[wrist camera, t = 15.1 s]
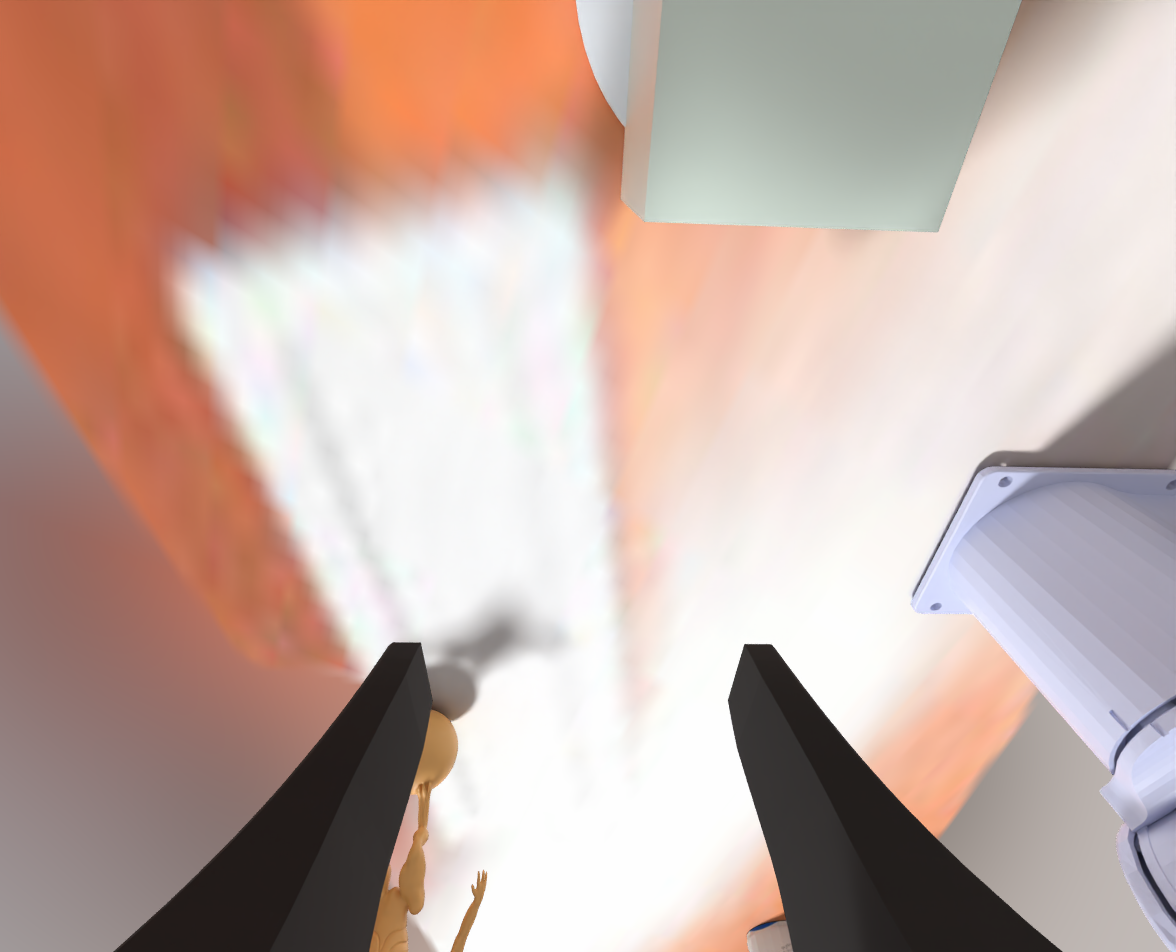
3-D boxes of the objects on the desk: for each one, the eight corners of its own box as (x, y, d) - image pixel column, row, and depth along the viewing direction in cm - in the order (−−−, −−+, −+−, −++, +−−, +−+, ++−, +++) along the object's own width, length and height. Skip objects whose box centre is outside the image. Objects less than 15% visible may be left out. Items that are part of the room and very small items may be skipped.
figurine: (497, 690, 28) (453, 1001, 18) (509, 752, 31) (478, 1046, 21) (344, 696, 28) (209, 1010, 17) (372, 757, 31) (272, 1054, 21)
